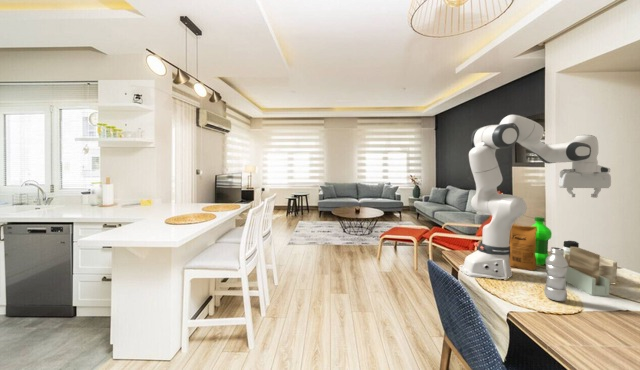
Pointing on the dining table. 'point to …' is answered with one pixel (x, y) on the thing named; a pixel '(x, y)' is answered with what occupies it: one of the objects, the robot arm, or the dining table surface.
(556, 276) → the plastic bottle
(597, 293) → the stand
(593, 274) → the light wood flat panel
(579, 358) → the dining table surface
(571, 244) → the medicine bottle
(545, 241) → the plastic bottle
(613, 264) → the box
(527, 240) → the coffee package
